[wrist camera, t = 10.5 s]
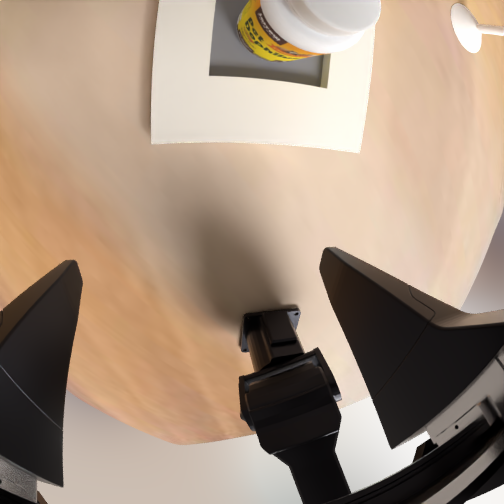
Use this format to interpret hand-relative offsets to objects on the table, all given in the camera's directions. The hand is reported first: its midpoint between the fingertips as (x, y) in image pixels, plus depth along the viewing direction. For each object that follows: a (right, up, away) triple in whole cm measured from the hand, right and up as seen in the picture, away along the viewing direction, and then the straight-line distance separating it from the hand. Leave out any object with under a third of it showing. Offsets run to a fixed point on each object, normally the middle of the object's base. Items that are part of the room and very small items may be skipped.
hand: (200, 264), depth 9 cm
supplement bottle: (+3, +16, +6) cm, 18 cm away
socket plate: (+3, +17, +6) cm, 18 cm away
